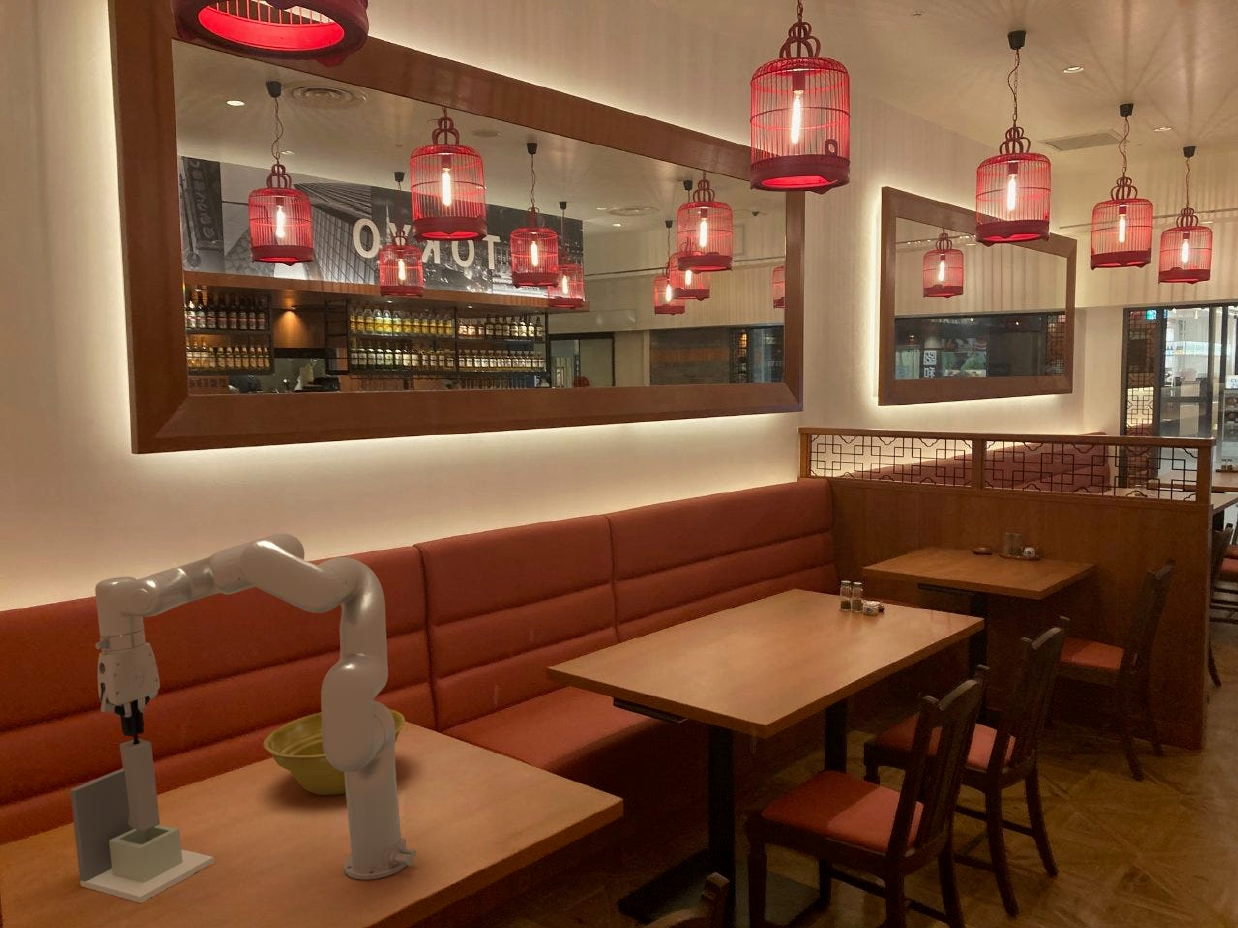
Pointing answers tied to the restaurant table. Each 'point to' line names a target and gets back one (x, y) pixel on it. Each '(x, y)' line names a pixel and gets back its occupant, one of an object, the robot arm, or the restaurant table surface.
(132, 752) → the vintage mobile phone
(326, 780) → the planter bowl
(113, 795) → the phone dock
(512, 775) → the restaurant table surface
